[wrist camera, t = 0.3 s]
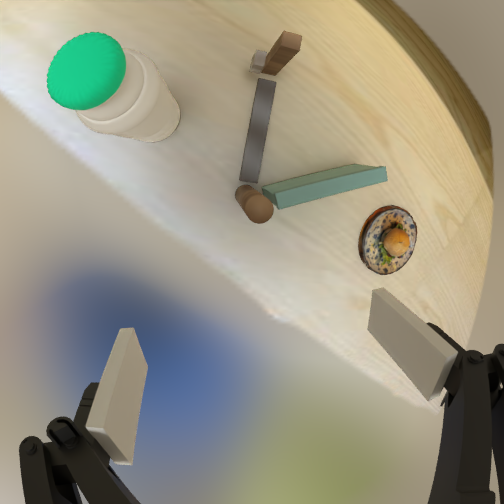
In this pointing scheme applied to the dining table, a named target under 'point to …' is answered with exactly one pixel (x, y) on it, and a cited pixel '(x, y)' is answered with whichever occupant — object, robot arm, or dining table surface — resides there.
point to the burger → (387, 240)
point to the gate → (323, 184)
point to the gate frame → (262, 124)
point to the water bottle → (112, 89)
